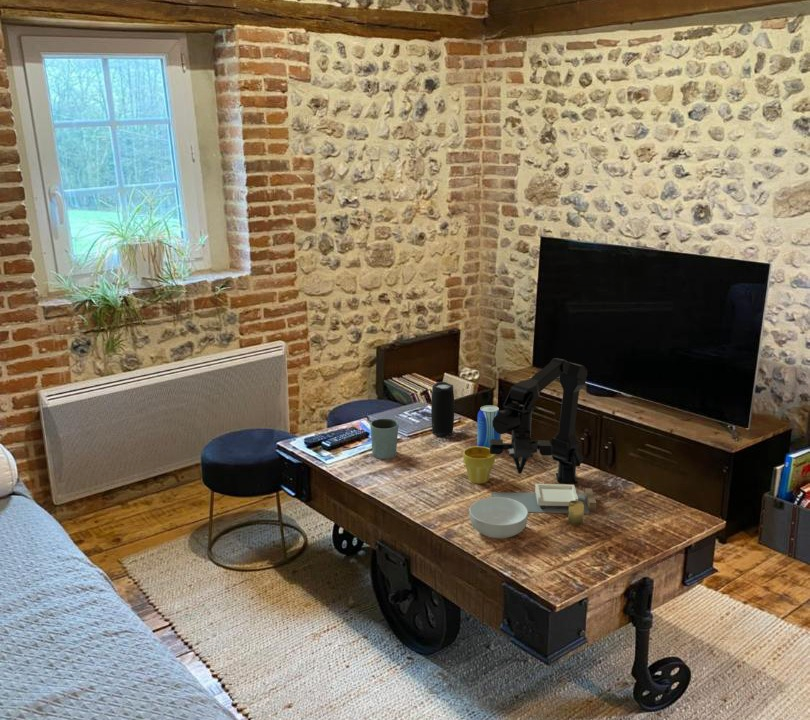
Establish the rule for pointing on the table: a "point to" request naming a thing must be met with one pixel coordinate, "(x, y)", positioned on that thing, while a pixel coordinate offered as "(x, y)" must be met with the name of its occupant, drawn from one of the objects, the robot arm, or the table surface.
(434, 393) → the portable speaker
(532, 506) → the mat
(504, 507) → the cereal bowl
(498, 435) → the beer can
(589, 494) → the end stop
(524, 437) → the robot arm
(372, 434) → the green cup
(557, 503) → the shallow square tray
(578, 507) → the solid brass cylinder
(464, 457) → the plant pot
